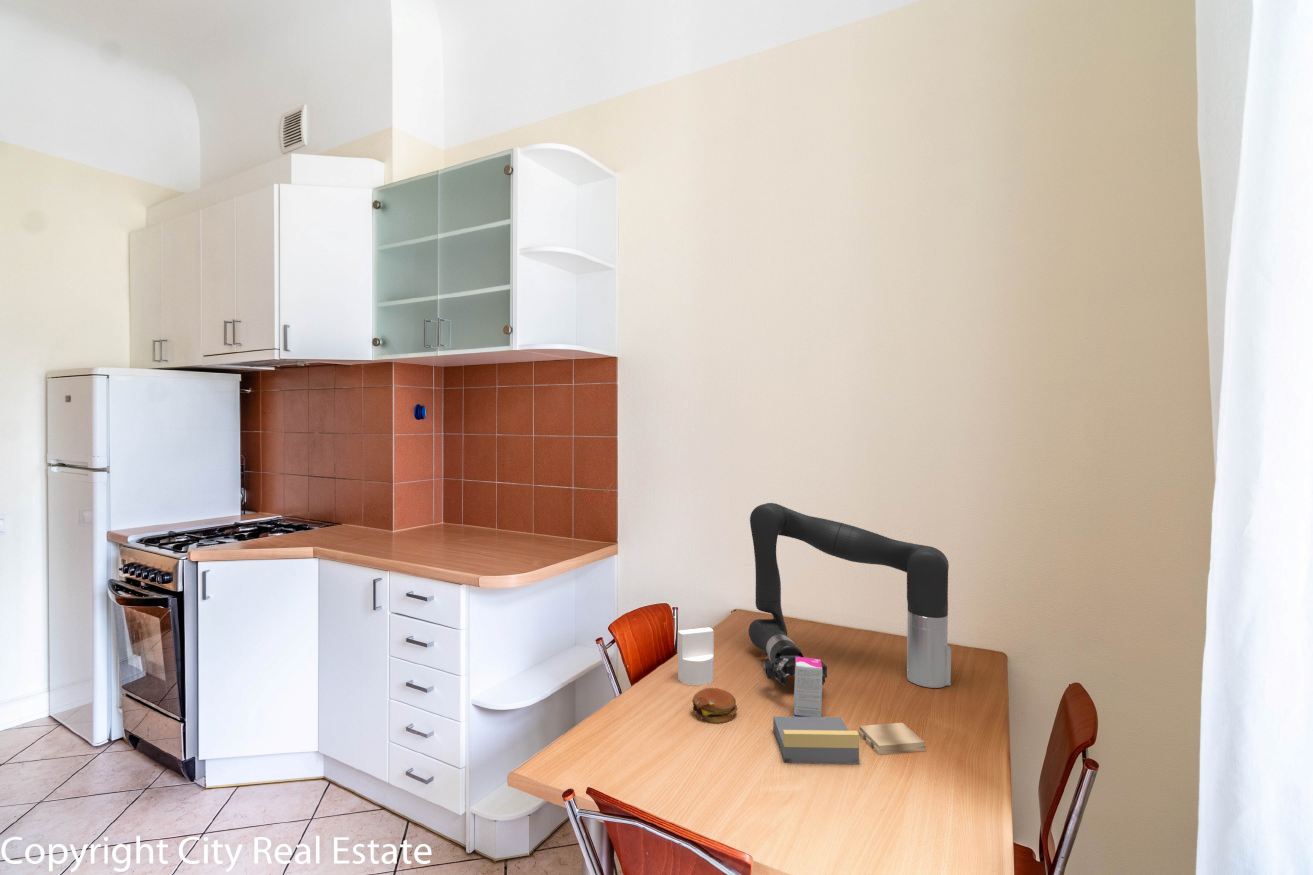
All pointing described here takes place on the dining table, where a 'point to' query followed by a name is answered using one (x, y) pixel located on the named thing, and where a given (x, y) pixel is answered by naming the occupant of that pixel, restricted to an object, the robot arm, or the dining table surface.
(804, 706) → the supplement box
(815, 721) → the dock
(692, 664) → the cylinder with rectangular tab
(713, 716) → the burger
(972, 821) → the dining table surface
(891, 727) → the block
